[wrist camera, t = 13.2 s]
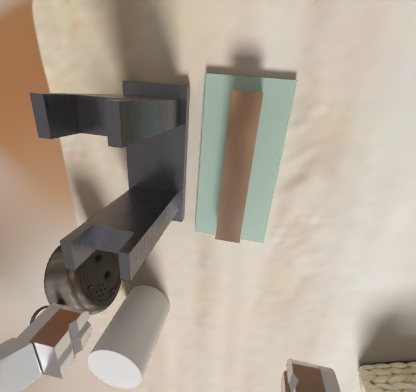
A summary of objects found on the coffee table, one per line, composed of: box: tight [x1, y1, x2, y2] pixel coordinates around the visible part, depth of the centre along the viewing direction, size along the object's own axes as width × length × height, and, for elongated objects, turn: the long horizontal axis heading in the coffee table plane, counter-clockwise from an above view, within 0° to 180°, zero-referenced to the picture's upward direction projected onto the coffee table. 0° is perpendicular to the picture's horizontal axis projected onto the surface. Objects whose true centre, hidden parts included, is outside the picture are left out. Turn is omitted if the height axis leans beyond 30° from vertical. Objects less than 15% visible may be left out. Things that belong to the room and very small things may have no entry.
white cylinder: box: [87, 285, 170, 389], centre depth 38 cm, size 8×8×12 cm
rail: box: [215, 90, 263, 243], centre depth 29 cm, size 3×18×3 cm, turn 175°
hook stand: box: [30, 81, 190, 281], centre depth 25 cm, size 8×18×15 cm, turn 175°
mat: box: [195, 73, 297, 243], centre depth 30 cm, size 10×21×1 cm, turn 175°
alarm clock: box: [30, 245, 121, 324], centre depth 33 cm, size 11×5×16 cm, turn 15°
